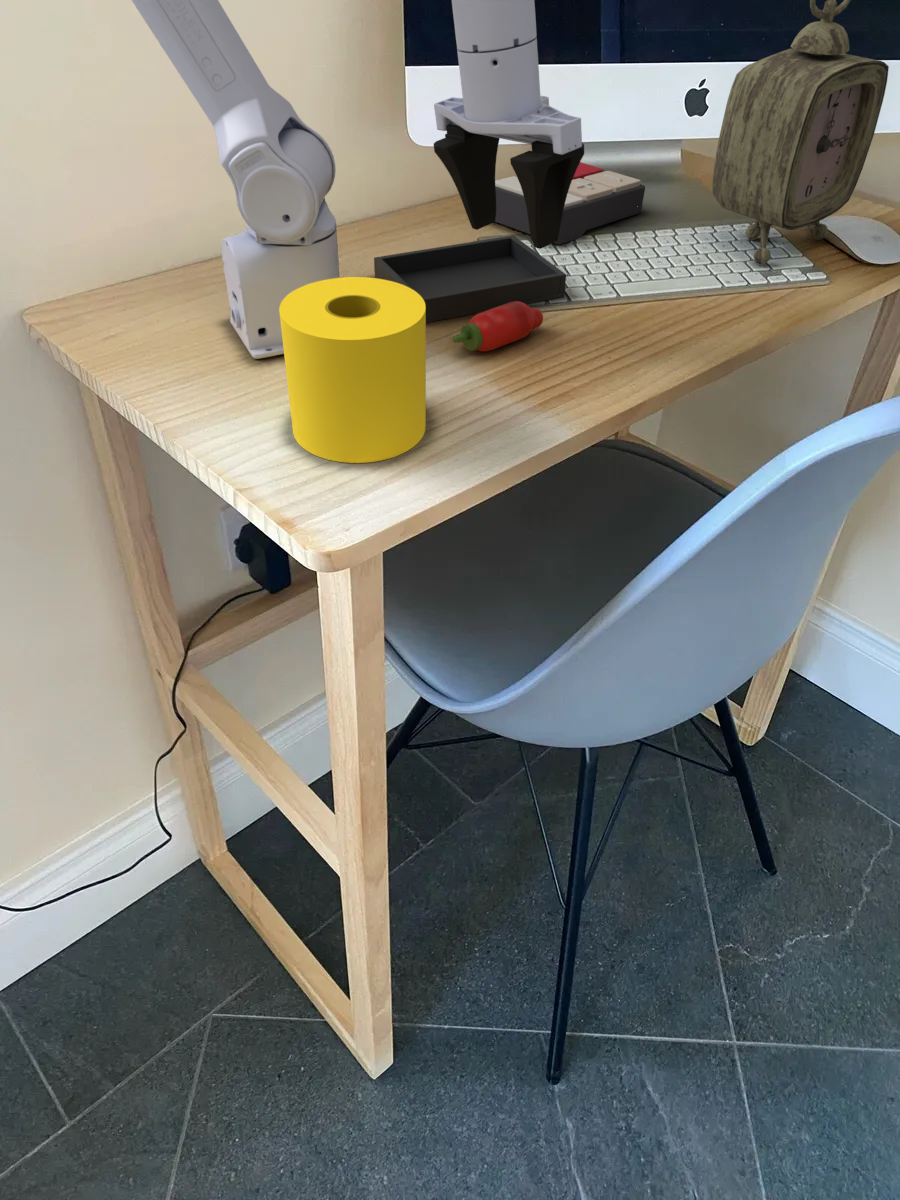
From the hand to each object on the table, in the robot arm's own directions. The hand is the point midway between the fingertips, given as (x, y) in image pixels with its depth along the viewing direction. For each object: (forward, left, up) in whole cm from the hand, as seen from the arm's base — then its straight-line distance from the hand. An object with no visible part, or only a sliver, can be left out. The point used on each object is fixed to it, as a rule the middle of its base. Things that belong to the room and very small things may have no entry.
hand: (513, 234), depth 74 cm
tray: (+1, +11, -9) cm, 14 cm away
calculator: (+20, +25, -9) cm, 33 cm away
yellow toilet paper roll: (-17, -8, -9) cm, 21 cm away
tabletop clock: (+36, +9, -9) cm, 38 cm away
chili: (-1, 0, -9) cm, 9 cm away
